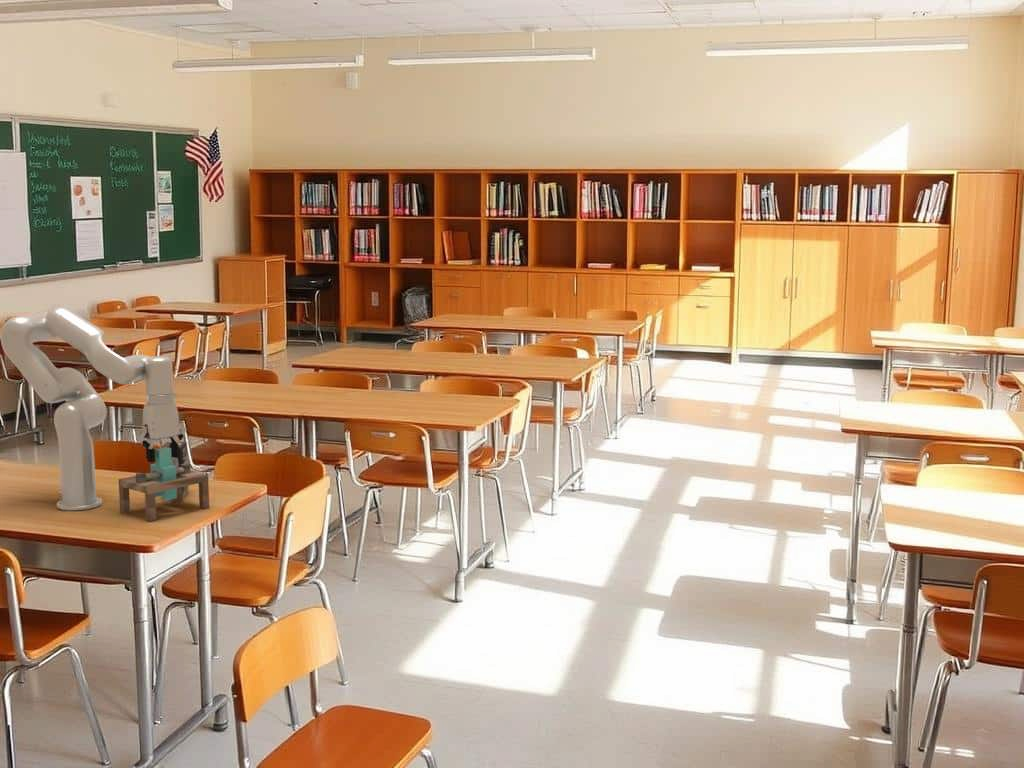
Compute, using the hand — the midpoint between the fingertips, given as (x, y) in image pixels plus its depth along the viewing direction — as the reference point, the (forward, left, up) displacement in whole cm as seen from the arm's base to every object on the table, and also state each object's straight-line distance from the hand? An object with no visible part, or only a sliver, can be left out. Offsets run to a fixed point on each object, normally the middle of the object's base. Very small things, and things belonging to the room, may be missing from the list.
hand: (162, 459), depth 330 cm
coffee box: (-12, +12, -15) cm, 23 cm away
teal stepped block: (0, 0, -11) cm, 11 cm away
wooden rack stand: (0, 0, -15) cm, 15 cm away
